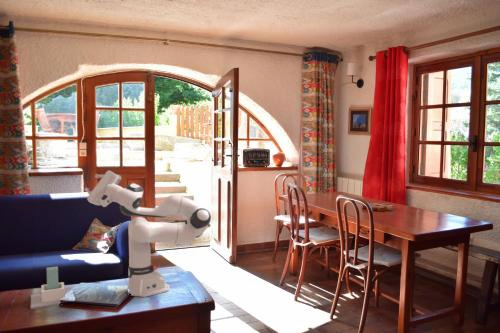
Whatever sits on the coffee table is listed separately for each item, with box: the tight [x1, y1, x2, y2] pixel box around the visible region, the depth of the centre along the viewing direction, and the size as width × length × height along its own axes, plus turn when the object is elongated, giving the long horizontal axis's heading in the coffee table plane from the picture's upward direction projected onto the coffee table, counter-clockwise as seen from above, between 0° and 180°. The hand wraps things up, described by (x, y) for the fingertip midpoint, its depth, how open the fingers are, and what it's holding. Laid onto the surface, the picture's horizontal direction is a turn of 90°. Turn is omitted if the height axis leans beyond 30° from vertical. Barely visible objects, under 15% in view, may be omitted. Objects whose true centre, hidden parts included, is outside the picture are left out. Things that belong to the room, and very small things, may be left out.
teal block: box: [46, 265, 59, 290], centre depth 212 cm, size 5×5×15 cm
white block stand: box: [30, 281, 72, 310], centre depth 212 cm, size 20×18×6 cm
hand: (90, 182), depth 228 cm, fingers open, 8 cm apart
